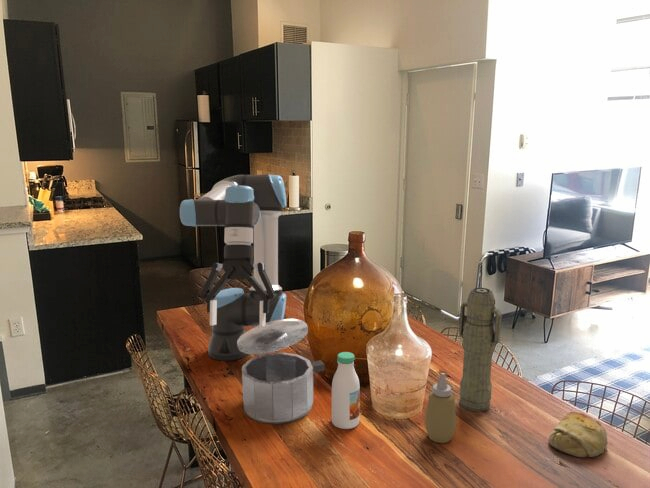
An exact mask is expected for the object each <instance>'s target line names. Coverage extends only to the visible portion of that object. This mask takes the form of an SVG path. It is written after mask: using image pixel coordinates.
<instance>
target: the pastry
mask: <svg viewBox="0 0 650 488" xmlns="http://www.w3.org/2000/svg"><path fill="white" fill-rule="evenodd" d="M548 443H549V445H550V446H552V447H553V448H554V449H556V450H558V451H561V452H563V453H565V454H567V455H570V456H573V457H577V458H592V457H593V458H594V457H598V456H600V455H601V454H604V451H605V448H606V447H607V445H608V434H607V430H606V429H605V428H604V426H603V425H602V424H601V423H600V422H599V421H596V420H595V419H593V418H592V417H590V416H588V415H586V414H584V413H582V412H578V411H577V412H576V411H570V412H568V413H567V414H566V415H565V416H564V417H563V418H562V419H561V420H559V422H558V423H557V424H556V426H554V428H553V430H552V431H551V433H550V435H549V437H548Z"/></svg>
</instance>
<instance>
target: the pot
mask: <svg viewBox="0 0 650 488" xmlns="http://www.w3.org/2000/svg"><path fill="white" fill-rule="evenodd" d="M324 371H326V370H325V363H324V362H323V361H322V360H315V361H311V360H310V359H307V358H306V357H303V356H302V355H299V354H295V353H290V352H271V353H265V354H259V355H258V356H255V357H252V358H249V360H247V361H246V362H245V363H244V364H243V365H242V366H241V376H242V377H241V378H242V379H241V380H242V384H241V385H242V399H243V400H242V401H243V402H242V403H243V411H244V413H245V415H246V416H247V417H248V418H249V419H252V420H253V421H256V422H259V423H263V424H269V425H270V424H271V425H275V424H276V425H279V424H287V423H291V422H295V421H298V420H300V419H301V418H304V417H305V416H306V415H308V414H309V413H310V412H311V409H312V408H313V404H314V373H318V372H324Z"/></svg>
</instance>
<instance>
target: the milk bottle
mask: <svg viewBox="0 0 650 488" xmlns="http://www.w3.org/2000/svg"><path fill="white" fill-rule="evenodd" d="M354 360H355V355H354V353H352V352H350V351H342V352H339V353H338V354H337V361H336V363H337V364H338V365H337V369H336V371H335V372H334V375H333V376H332V377H333V378H332V381H331V423H332V425H333V426H334V427H335V428H337V429H342V430H350V429H354V428H356V427H357V426H358V425H359V423H360V412H361V411H360V410H361V409H360V408H361V407H360V406H361V404H360V403H361V400H360V399H361V395H360V394H361V393H360V392H361V390H360V389H361V388H360V379H359V376H358V374H357V373H356V370H355V364H354Z"/></svg>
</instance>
